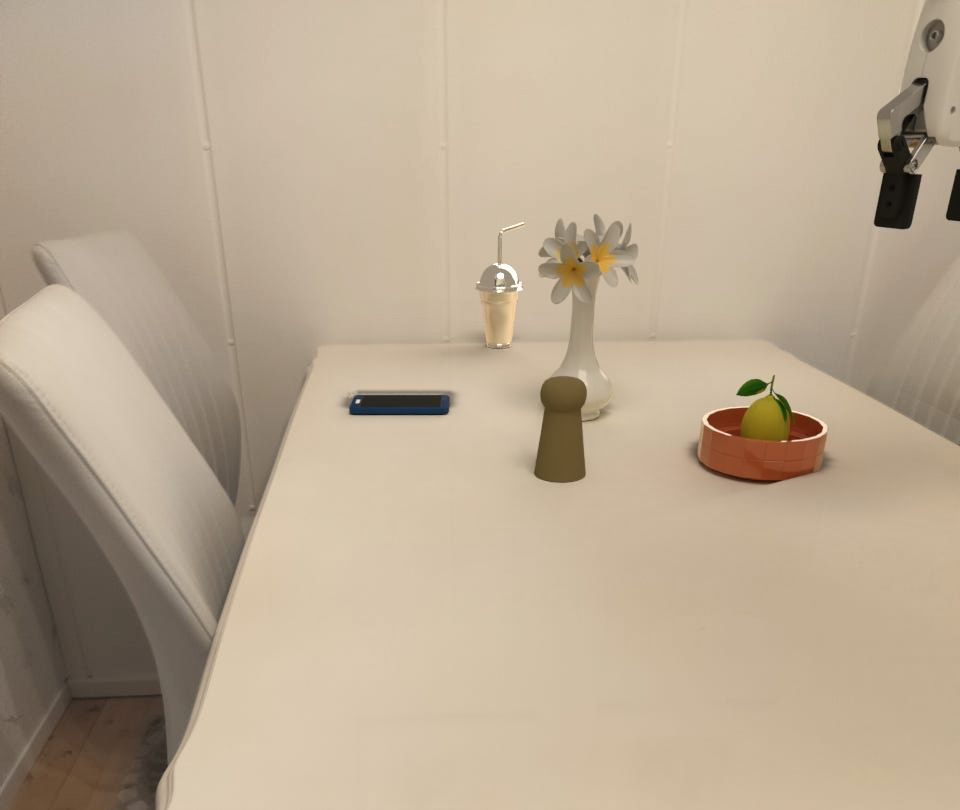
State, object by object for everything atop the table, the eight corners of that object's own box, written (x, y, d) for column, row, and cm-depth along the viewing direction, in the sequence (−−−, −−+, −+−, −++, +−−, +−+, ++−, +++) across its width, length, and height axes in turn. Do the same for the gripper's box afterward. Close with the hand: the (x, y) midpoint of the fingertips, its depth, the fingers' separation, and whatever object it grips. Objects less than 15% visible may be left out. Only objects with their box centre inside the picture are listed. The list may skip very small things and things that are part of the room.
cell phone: (354, 399, 133) (354, 394, 133) (449, 399, 134) (449, 394, 133) (348, 414, 127) (348, 408, 127) (448, 414, 127) (448, 408, 127)
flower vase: (526, 434, 120) (531, 225, 107) (539, 396, 135) (545, 210, 123) (626, 439, 118) (644, 227, 105) (628, 400, 134) (643, 212, 121)
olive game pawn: (556, 486, 103) (561, 387, 98) (523, 471, 107) (525, 376, 102) (596, 475, 106) (603, 379, 101) (562, 461, 110) (567, 368, 105)
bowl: (755, 439, 118) (761, 400, 116) (845, 470, 108) (854, 428, 105) (672, 458, 112) (677, 417, 109) (760, 493, 101) (767, 449, 99)
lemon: (728, 450, 112) (739, 367, 107) (776, 450, 112) (790, 367, 107) (739, 468, 107) (752, 381, 102) (790, 469, 106) (805, 382, 101)
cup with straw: (471, 341, 168) (470, 222, 158) (519, 339, 169) (522, 221, 159) (479, 351, 161) (479, 227, 151) (530, 349, 162) (533, 226, 152)
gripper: (960, -39, 62) (902, 235, 71) (1096, -21, 70) (1029, 222, 79) (867, -27, 68) (823, 226, 76) (1003, -12, 76) (950, 215, 84)
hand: (928, 224), depth 78 cm, fingers open, 9 cm apart
